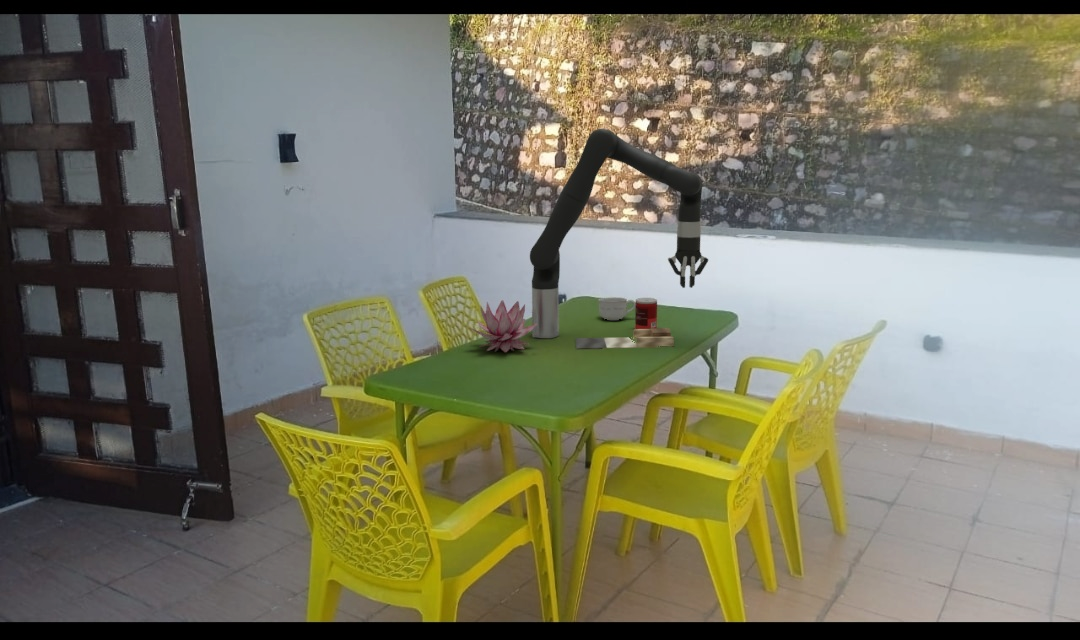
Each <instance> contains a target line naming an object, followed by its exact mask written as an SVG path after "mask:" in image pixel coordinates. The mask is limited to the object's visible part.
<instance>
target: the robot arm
mask: <svg viewBox="0 0 1080 640" xmlns="http://www.w3.org/2000/svg"><path fill="white" fill-rule="evenodd" d="M607 159H611V160H613V161H617V162H620V163H623V164H625V165H627V166H629V167H631V168H633V169H635V170H636V171H637V172H639V173H641V174H643V175H645V176H646V177H648V178H650V179H653V180H655V181H657V182H659V183H661V184H664V185H666V186H668V187H670V188H671V189H673V190H674V191H676V192H677V193H680V203H679V206H678V221H677V227H676V228H677V229H676V251H675V253H674V256H672V257H668V258H667V261H668V263H669V264H670V266H671V268H672V270H673V272H674V273H675V275H677V276H679V285H680V287H682V289H685V288H686V269H687V266H688V267H689V269H690V270H689V271H690V275H689V283H688V284H689V285H688V286H689V288H690V289H691V288H693V287H695V279H696V278H695V277H696V276H699V275H701V274H702V272H703V270H704V269H705V267H706V266H707V263H708V262H709V258H707V257H705V256H703V255H702V252H701V237H702V235H701V232H702V230H701V229H702V227H701V200H702V193H703V192H702V191H703V180H702V177H701V176H700V175H699V174H698V173H696V172H688V171H687V170H684V169H682V168H680V167H677V166H676V165H675V164H674V163H672V162H670V161H669V160H666V159H664V158H661V157H660V156H657V155H656V154H652V153H650V152H648V151H645V150H642V149H641V148H639V147H635V146H634V145H632V144H630V143H629V142H627V141H626V140H624V139H623V138H621V137H619V135H617V134H615V132H613V131H612V130H611V129H607V128H597V129H595V130H593V131H592V132H591V133H590V134H589V136H588V138H587V140H586V142H585V145H584V148H583V151H582V153H581V155H580V158H579V160H578V163H576V164H577V165H576V166H575V168H574V169H573V170H572V173H571V174H570V176H569V178H568V179H567V182H566V183H565V185H564V186H563V188H562V190H561V192H560V194H559V195H558V197H557V200H556V202H555V205H554V207H553V209H552V211H551V214H550V216H549V218H548V221H547V223H546V226H545V228H543V231H542V232H541V235H540V236H539V238H538V239H537V240H536V242H535V243H534V245H533V246H532V247H531V249H530V252H529V260H530V264H531V265H532V267H533V274H532V279H531V307H532V309H531V322H532V324H531V325H534V324H537V325H536V326H535V327H534V328H533V330H532V331H531V332H532V333H531V334H532V338H538V339H552V338H557V337H560V327H559V326H560V318H559V317H560V316H559V315H560V314H559V313H560V312H559V311H560V310H559V306H560V305H559V304H560V303H559V302H560V301H559V299H560V298H559V282H560V281H559V280H560V274H561V273H560V271H561V269H560V267H561V266H560V265H561V262H560V261H561V259H560V257H561V256H560V255H561V254H560V248H561V247H562V246H561V245H562V244H563V242H564V240H565V237H566V236H567V234H568V233H569V232H570V230H571V229H572V228H573V227H574V225H575V224H576V222H577V221H578V219H579V218H580V216H581V215H582V213H583V211H584V209H585V207H586V205H587V203H588V201H589V199H590V197H591V194H592V191H593V188H594V184H595V181H596V178H597V175H598V173H599V171H600V169H601V168H602V167H603V165H604V163H605V161H606V160H607ZM677 261H678V263H679V264H680V269H678V267H677V265H676V263H677ZM698 262H700V263H699V264H698V265H699V266H698V267H697V268H696V265H697V263H698Z"/></svg>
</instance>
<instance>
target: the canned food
mask: <svg viewBox="0 0 1080 640" xmlns="http://www.w3.org/2000/svg"><path fill="white" fill-rule="evenodd" d="M635 304H636V306H635V308H634V309H635V313H634V315H635V322H634V324H635V325H634V328H635V329H650V328H658V327H657V326H658V299H656V298H654V297H653V298H652V297H640V298H637V299H635Z"/></svg>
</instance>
